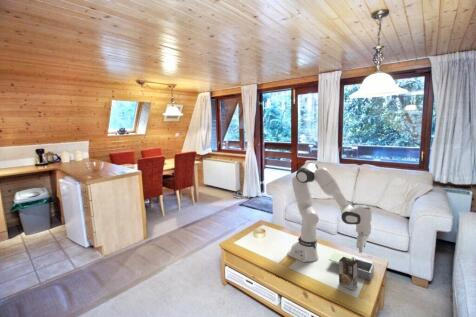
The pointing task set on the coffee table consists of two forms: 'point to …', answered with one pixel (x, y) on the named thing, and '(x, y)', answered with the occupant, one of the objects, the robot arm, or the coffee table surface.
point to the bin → (365, 269)
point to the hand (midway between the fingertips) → (362, 249)
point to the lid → (339, 257)
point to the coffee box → (348, 273)
